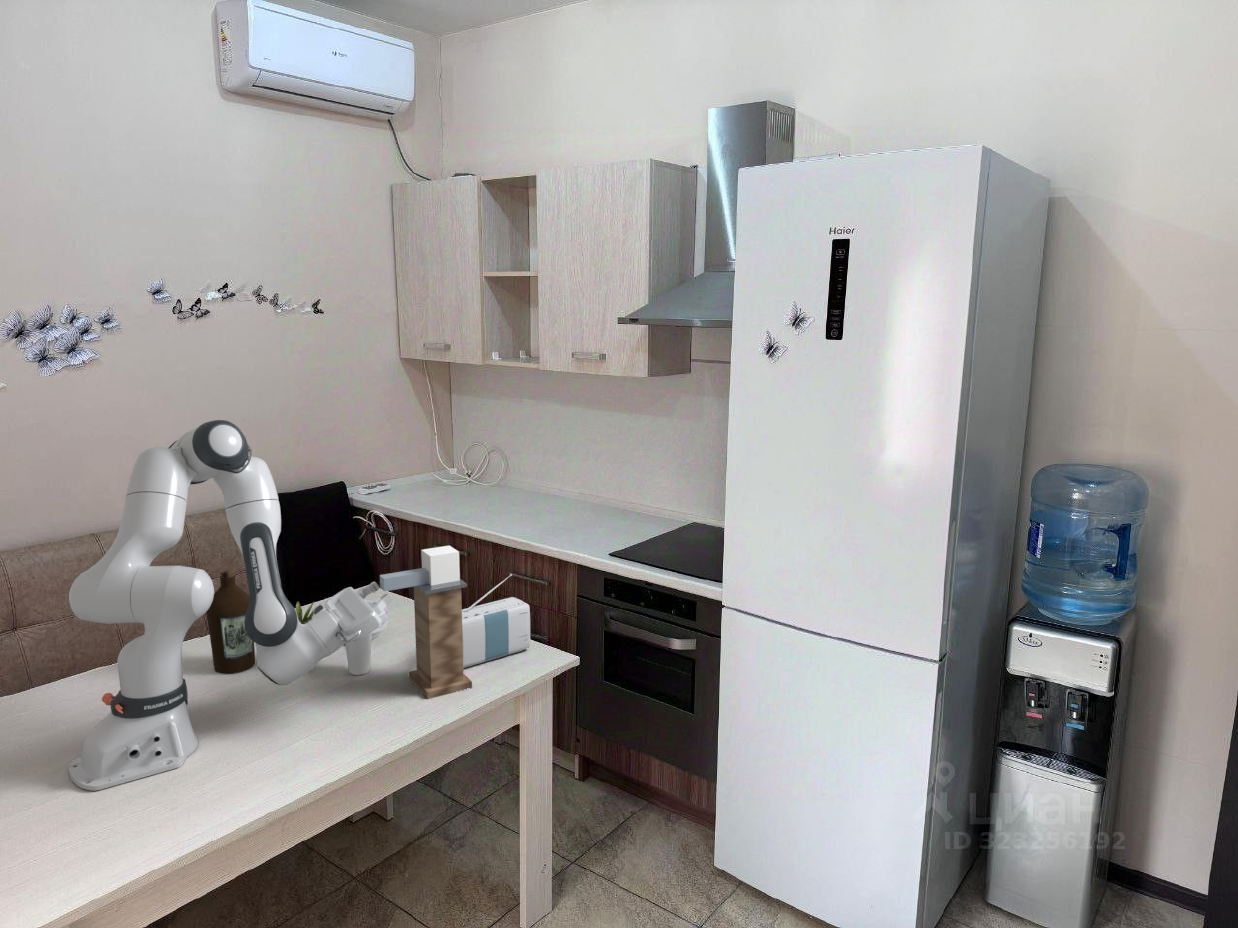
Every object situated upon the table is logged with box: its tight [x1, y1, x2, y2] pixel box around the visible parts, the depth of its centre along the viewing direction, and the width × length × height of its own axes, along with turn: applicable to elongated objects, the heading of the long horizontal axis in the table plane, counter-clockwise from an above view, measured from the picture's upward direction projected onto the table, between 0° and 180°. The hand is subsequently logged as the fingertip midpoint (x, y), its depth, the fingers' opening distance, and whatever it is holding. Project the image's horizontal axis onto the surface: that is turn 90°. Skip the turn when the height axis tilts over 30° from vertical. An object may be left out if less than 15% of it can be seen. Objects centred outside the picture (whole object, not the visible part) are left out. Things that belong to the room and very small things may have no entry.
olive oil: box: [205, 568, 256, 675], centre depth 209 cm, size 11×11×25 cm
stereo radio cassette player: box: [462, 573, 531, 670], centre depth 217 cm, size 21×8×20 cm, turn 129°
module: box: [379, 544, 461, 592], centre depth 196 cm, size 18×6×7 cm, turn 123°
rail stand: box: [408, 578, 473, 700], centre depth 201 cm, size 11×13×26 cm
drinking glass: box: [344, 632, 373, 676], centre depth 208 cm, size 7×7×15 cm
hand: (383, 590), depth 192 cm, fingers open, 8 cm apart
